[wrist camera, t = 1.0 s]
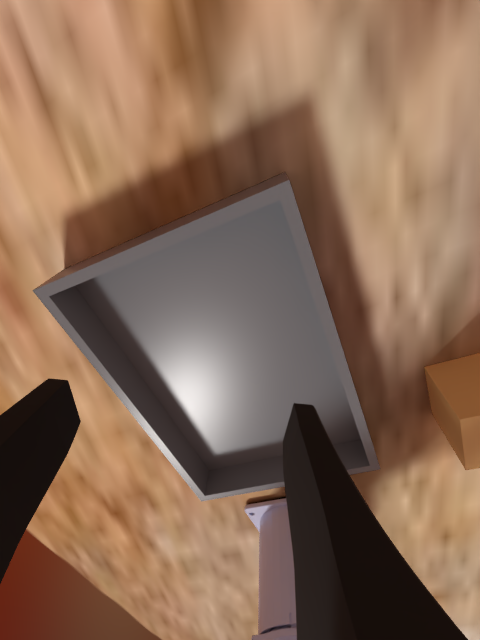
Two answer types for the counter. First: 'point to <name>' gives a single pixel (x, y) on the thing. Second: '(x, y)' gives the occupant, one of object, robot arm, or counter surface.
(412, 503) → the counter surface
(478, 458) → the ochre block
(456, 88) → the counter surface
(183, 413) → the charcoal tray
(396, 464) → the counter surface
